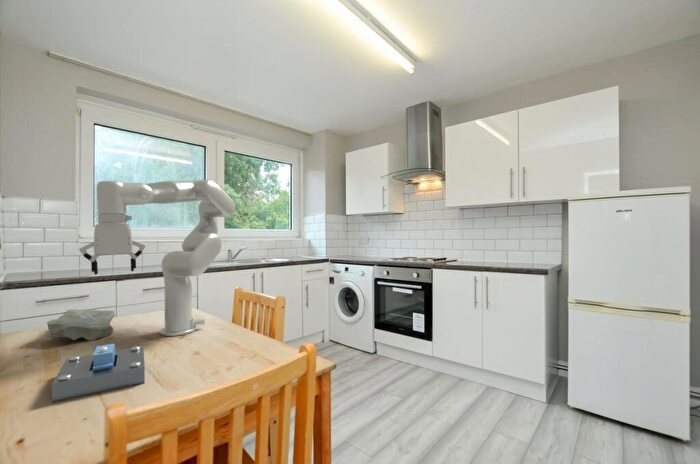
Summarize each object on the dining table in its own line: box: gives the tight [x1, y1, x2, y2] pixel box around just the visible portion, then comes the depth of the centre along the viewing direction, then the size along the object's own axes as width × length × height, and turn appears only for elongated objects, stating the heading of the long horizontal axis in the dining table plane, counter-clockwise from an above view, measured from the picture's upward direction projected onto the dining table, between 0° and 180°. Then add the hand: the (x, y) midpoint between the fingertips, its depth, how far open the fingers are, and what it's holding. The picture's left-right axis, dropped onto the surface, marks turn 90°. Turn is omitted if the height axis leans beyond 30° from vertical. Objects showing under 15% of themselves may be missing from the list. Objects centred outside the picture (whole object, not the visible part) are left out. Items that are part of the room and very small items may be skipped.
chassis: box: [51, 345, 146, 403], centre depth 88 cm, size 18×18×5 cm
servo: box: [93, 343, 116, 373], centre depth 88 cm, size 4×11×8 cm, turn 32°
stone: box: [46, 309, 116, 342], centre depth 126 cm, size 28×8×20 cm
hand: (114, 272), depth 107 cm, fingers open, 9 cm apart
